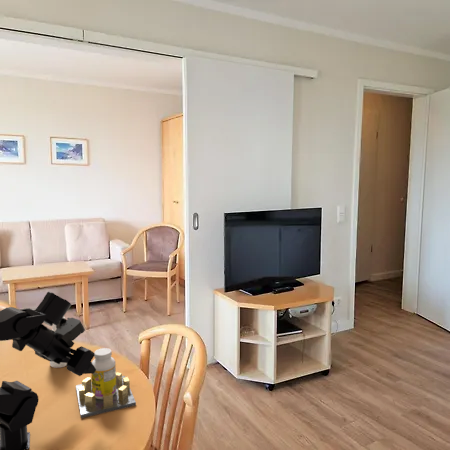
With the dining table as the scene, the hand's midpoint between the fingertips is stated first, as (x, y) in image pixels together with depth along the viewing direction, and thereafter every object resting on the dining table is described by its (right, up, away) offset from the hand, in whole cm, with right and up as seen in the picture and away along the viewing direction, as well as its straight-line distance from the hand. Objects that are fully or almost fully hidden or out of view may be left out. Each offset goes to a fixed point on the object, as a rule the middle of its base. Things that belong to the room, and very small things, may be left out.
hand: (84, 366), depth 110 cm
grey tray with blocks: (+4, -11, +7) cm, 13 cm away
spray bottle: (-17, -8, +27) cm, 33 cm away
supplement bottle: (+4, -10, +6) cm, 13 cm away
